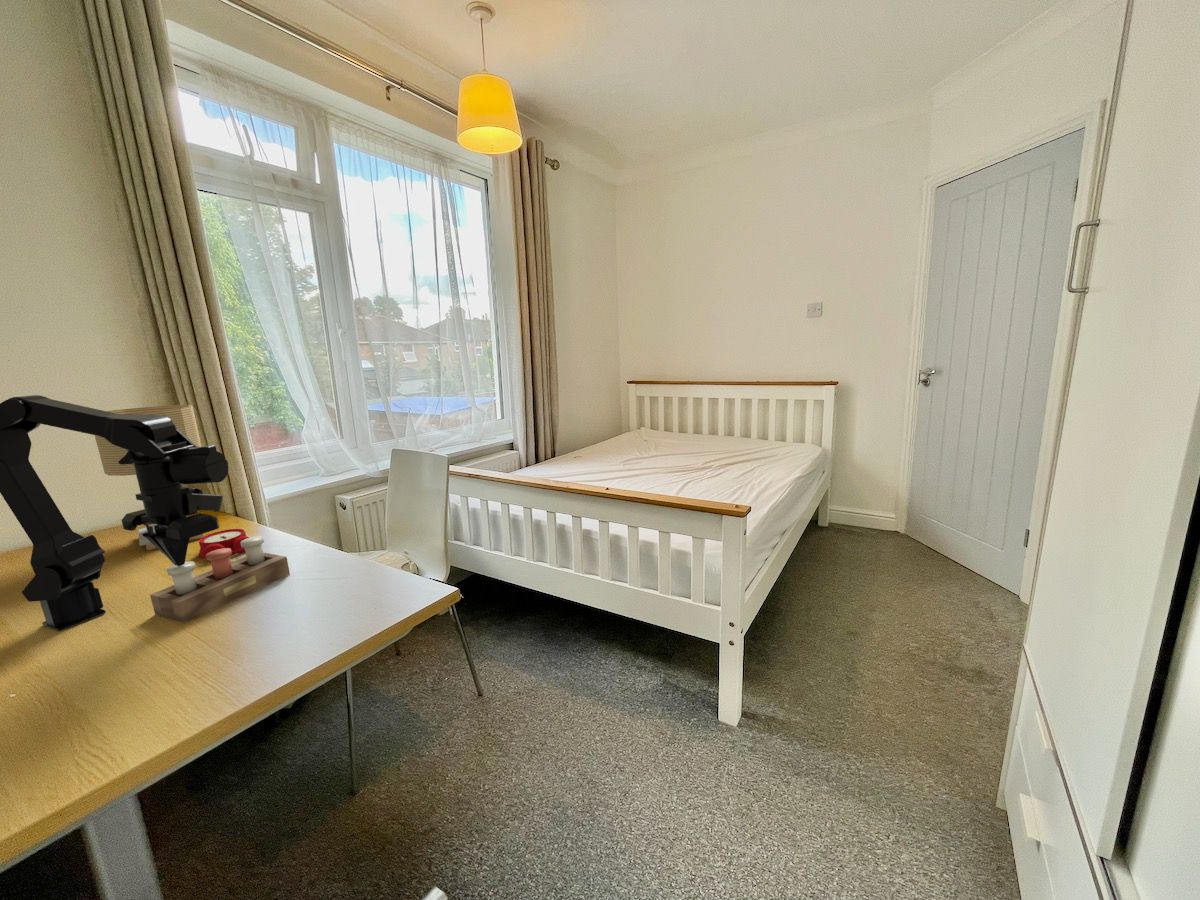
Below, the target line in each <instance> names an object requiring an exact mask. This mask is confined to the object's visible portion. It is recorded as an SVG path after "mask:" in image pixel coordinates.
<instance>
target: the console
mask: <svg viewBox="0 0 1200 900" xmlns="http://www.w3.org/2000/svg"><path fill="white" fill-rule="evenodd" d="M263 553H264V558H265V561H264V562H262V563H260V564H256V565H248V562H247V557H246V556H244V557H242V558H239V559H236V560H234V561H230V562H231V566H232V571H233V574H232V575H231V576H229V577H226V578H222V579H215V578H214V574H213V570H212V569H211V570H208V571H206V572H203V573H201V574H199V575H196V576H194V578H195V582H196V586H197V589H196V590H195V591H193V592H190V593H187V594H183V595H177V594H176V590H175V586H174V584H173V585H171V586H168V587H166V588H163V589H160V590H158V591H156V592H153V593H151V594H149V596H150V597H149V598H150V601H151V604H152V608H153V611H154V615H156V616H158V617H162V618H165V619H169V620H172V621H175V622H179V623H182V624H186V623H189V622H190V621H192V620H195V619H197V618H199V617H201V616H203V615H206V614H207V613H210V612H212V611H214V610H216V609H218V608H221V607H223V606H225V605H228V604H229V603H232V602H233V601H236V600H238V599H240V598H242V597H244V596H247V595H249V594H252V593H253V592H254V591H257V590H259V589H261V588H263V587H264V588H265V586H268V585H270V584H272V583H274V582H277V581H279V580H281V579H283V578H286V577H288V576H290V574H291V573H290V568H289V562H288V558H287V556H285V555H284V556H283V555H280V554H279V555H278V554H274V553H269V552H263Z"/></svg>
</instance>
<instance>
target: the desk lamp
mask: <svg viewBox="0 0 1200 900" xmlns="http://www.w3.org/2000/svg"><path fill="white" fill-rule="evenodd" d="M194 410H195V409H194V407H193V405H191V404H178V405H177V404H175V405H173V404H172V405H157V406H145V407H144V406H143V407H136V408H135V407H134V408H131V407H130V408H123V409H113V410H106V411H107V412H112V413H116V414H148V415H161V416H165V417H168V418H169V419H171V420H172V422H173V424H174V425H175V427H176V428H177V429H178V430H179V431H180V432H182V433H183V434H184V435H185V436H186V437H187V438H188V439H189V440H190V441H191V442H193V443H194V444H195V445H196V447H202V442H201V439H200V438H201V437H200V433H199V428H198V425H197V424H198V423H197V421H196V416H195V411H194ZM94 438H95V442H96V445H97V446H96V447H97V449H98V452H99V453H98V454H99V458H100V461H101V464H102V469H103V472H104V474H105V475H106V476H115V477H117V476H120V477H123V476H125V477H126V476H135V475H136V472H135V468H134V464H123V465H121V464H119V463H118V461H119V460H121V459H122V458H123V457H124V456H125V455H126V454H127V452H128V451H129V450H126V449H123V448H120V447H118V446H115V445H112V444H111V443H110V442H109V441H108V440H106V439H105V438H102V437H100V436H96V435H94ZM170 445H172V444H170ZM168 446H169V445H168ZM164 447H165V446H164ZM160 448H161V447H160ZM143 533H147V528H146V527H143V528H139V529H138V543H139V544H138V545H139V547H141V546H145V547H146V550H147V551H150V550H155V549H158V548H157V547H156V546H155V545H154V544H152V543H151V542H150V541H149V540H148V539H147V538H146V537H143V535H142V534H143ZM202 537H204V533H203V534H200V535H197V536H194V537H191V538H190V539H189V541H193V540H197V539H198V540H199V539H200V538H202Z"/></svg>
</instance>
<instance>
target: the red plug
mask: <svg viewBox="0 0 1200 900" xmlns="http://www.w3.org/2000/svg"><path fill="white" fill-rule="evenodd" d="M231 555H233V554H232V552H231V549H230V548H223V549H217V550H214V551H211V552H209V553H207V554H206V558H207V559H206V558H205V559H206V560H207V561H208V562H209V561H210V566H211V570H213V574H214V578H215V579H222V578H226V577H229V576H231V575H232V574H233V571H232V566H231V562H232V561H231V559H230V556H231Z"/></svg>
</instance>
